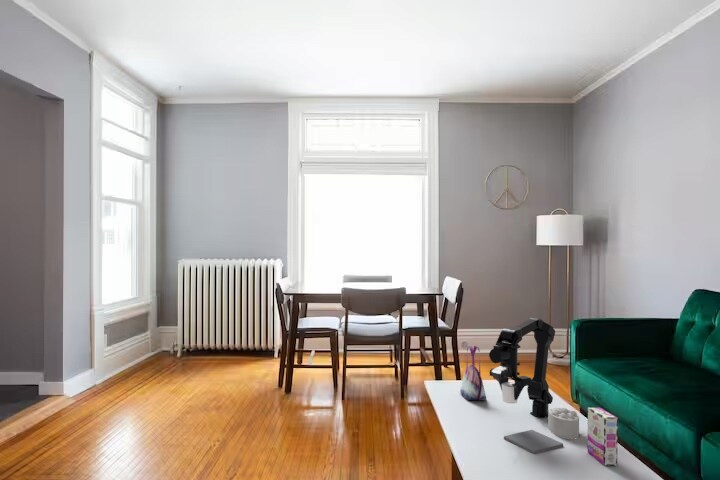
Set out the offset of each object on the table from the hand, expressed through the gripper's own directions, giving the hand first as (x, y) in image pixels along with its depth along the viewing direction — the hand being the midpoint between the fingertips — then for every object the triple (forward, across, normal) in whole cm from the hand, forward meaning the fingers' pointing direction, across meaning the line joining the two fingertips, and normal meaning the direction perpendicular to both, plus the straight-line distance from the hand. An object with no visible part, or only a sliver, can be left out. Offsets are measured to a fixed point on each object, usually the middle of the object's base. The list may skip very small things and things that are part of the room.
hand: (510, 397), depth 200 cm
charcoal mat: (+12, +16, -4) cm, 20 cm away
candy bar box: (+12, +37, +7) cm, 40 cm away
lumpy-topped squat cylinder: (+12, +15, +15) cm, 24 cm away
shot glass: (+2, 0, 0) cm, 2 cm away
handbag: (+12, -37, +12) cm, 41 cm away
